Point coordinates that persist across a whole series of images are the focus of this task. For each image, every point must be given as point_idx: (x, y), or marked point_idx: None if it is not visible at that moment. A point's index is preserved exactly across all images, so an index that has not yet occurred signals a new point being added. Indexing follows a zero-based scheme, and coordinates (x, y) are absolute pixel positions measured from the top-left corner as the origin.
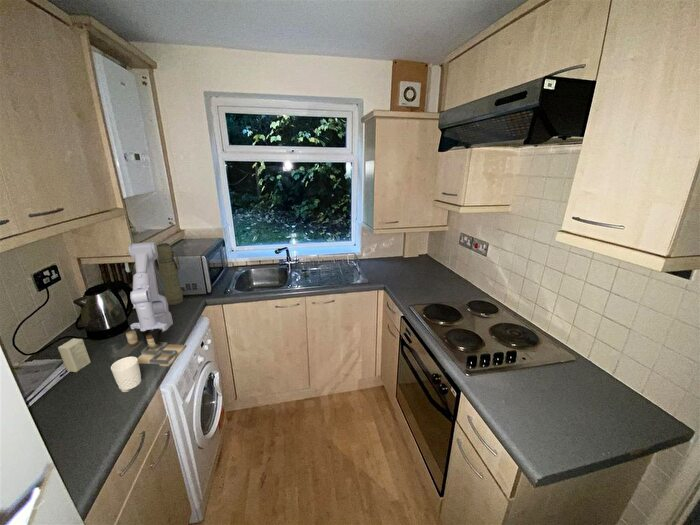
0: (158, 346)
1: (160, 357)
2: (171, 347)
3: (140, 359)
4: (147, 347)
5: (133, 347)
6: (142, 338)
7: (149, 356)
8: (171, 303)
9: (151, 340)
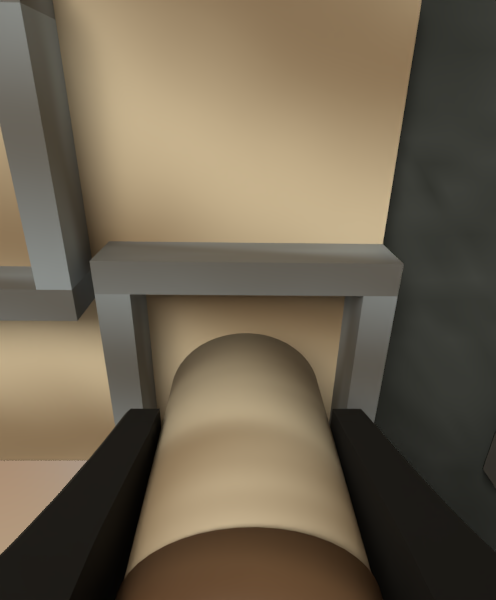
0: None
1: (9, 178)
2: (43, 408)
3: (325, 106)
4: (350, 371)
5: None
6: (478, 543)
7: (219, 198)
8: None
9: (189, 486)
